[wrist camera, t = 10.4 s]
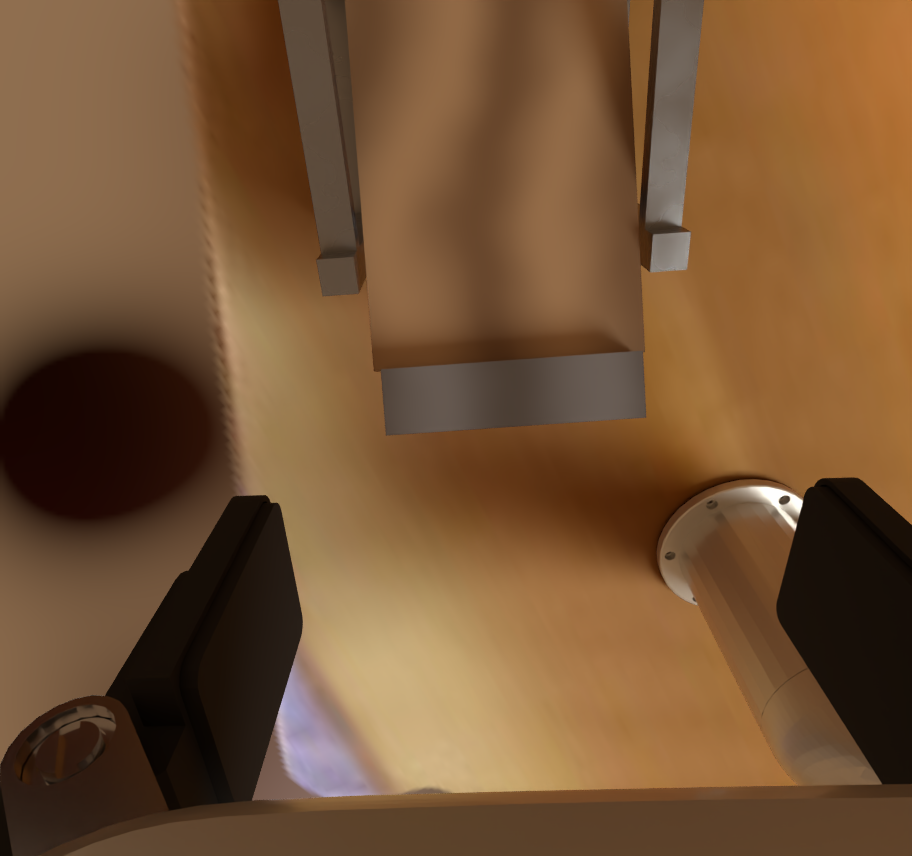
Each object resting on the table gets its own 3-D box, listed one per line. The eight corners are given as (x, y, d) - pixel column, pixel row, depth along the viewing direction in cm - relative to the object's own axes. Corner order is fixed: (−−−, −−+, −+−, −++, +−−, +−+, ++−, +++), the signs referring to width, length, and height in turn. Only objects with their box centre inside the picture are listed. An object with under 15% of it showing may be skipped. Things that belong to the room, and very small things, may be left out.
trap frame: (629, -67, 31) (733, -161, 20) (614, 219, 38) (686, 269, 27) (319, -41, 32) (250, -120, 20) (358, 238, 38) (322, 296, 27)
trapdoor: (613, 5, 28) (634, -50, 25) (634, 413, 29) (658, 416, 26) (353, 26, 28) (337, -26, 25) (385, 430, 30) (374, 436, 26)
